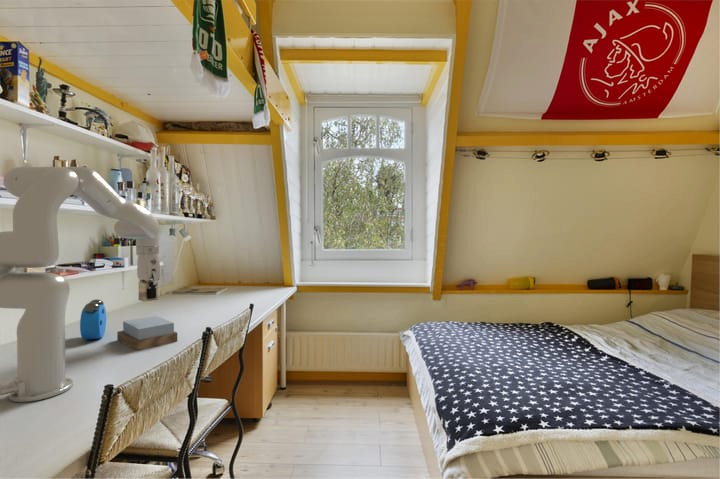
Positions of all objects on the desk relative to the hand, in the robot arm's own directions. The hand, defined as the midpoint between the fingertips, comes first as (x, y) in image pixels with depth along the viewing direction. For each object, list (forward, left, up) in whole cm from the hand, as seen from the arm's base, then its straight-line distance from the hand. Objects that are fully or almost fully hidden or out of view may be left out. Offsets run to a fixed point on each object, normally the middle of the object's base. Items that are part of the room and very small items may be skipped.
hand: (148, 297), depth 138 cm
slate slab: (0, -1, -14) cm, 14 cm away
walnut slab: (-1, 0, -18) cm, 18 cm away
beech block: (0, 0, -1) cm, 1 cm away
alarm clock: (-12, +19, -17) cm, 28 cm away
